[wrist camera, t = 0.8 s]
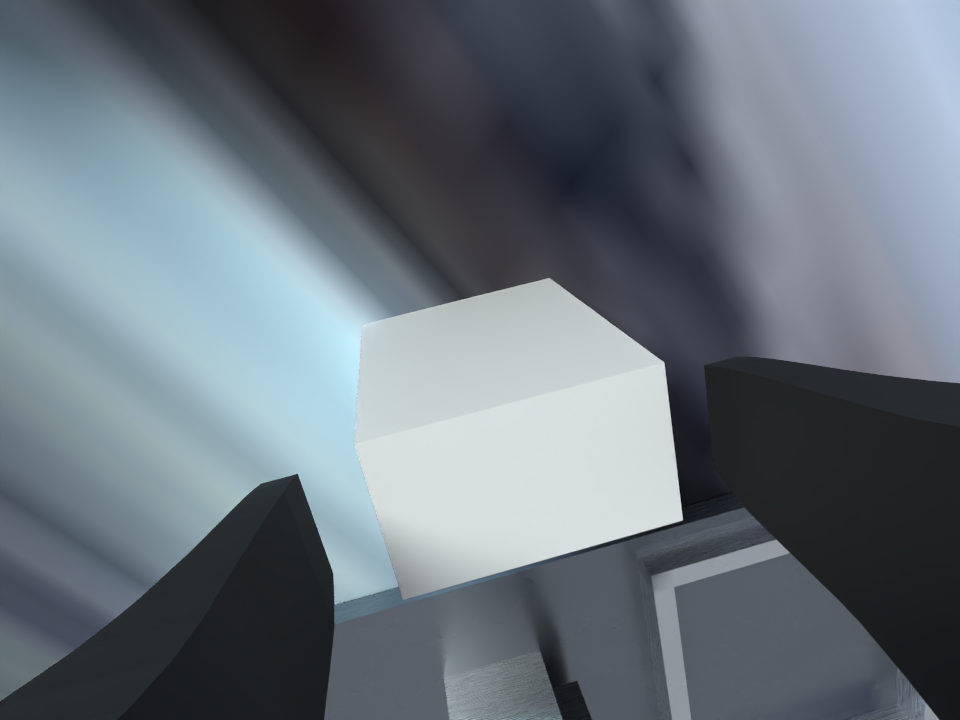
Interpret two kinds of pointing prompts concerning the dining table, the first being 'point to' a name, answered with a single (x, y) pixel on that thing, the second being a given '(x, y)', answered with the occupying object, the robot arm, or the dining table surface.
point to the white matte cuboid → (509, 435)
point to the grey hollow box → (623, 638)
